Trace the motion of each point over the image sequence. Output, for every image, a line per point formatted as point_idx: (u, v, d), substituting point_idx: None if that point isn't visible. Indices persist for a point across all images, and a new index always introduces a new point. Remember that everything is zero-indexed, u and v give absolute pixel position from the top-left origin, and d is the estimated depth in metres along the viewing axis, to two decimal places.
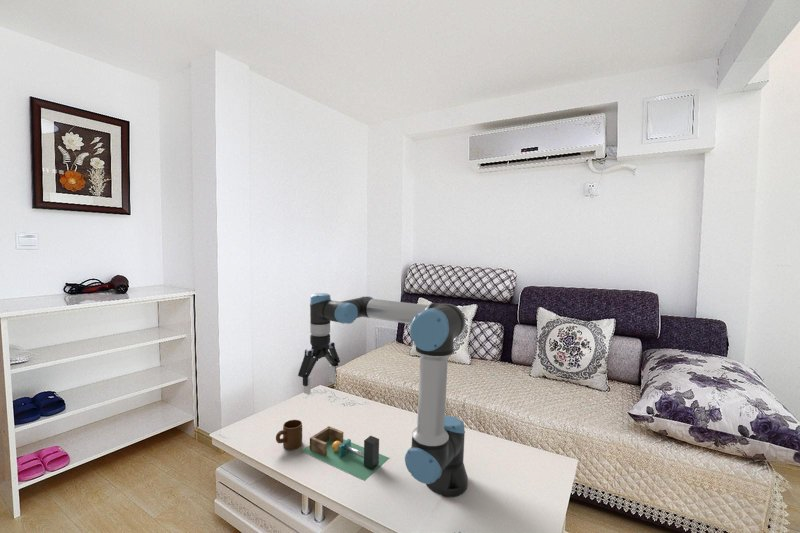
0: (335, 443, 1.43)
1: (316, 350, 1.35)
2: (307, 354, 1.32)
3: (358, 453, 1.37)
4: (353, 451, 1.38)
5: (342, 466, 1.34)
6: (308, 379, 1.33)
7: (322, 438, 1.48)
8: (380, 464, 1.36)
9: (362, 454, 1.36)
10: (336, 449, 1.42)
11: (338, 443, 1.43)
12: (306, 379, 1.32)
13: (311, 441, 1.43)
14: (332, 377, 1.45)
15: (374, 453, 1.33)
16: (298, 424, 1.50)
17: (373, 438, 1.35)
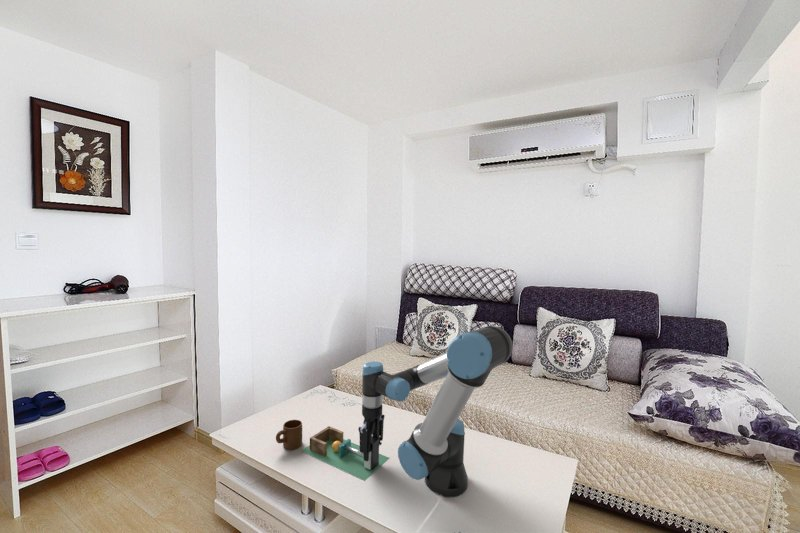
0: (335, 443, 1.43)
1: (369, 423, 1.30)
2: (362, 432, 1.28)
3: (358, 453, 1.37)
4: (353, 451, 1.38)
5: (342, 466, 1.34)
6: (369, 454, 1.31)
7: (322, 438, 1.48)
8: (380, 464, 1.36)
9: (362, 454, 1.36)
10: (336, 449, 1.42)
11: (338, 443, 1.43)
12: (367, 454, 1.31)
13: (311, 441, 1.43)
14: None
15: (374, 453, 1.33)
16: (298, 424, 1.50)
17: (373, 438, 1.35)
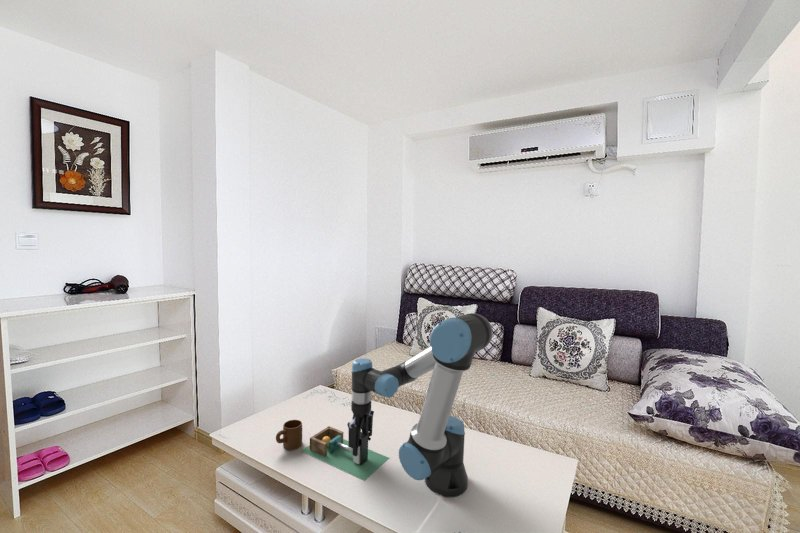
0: None
1: (358, 418, 1.33)
2: (351, 428, 1.31)
3: (348, 449, 1.39)
4: (343, 447, 1.41)
5: (342, 466, 1.34)
6: (358, 449, 1.34)
7: None
8: (380, 464, 1.36)
9: (351, 450, 1.39)
10: None
11: None
12: (356, 449, 1.34)
13: (311, 441, 1.43)
14: None
15: (363, 448, 1.35)
16: (298, 424, 1.50)
17: (362, 434, 1.37)
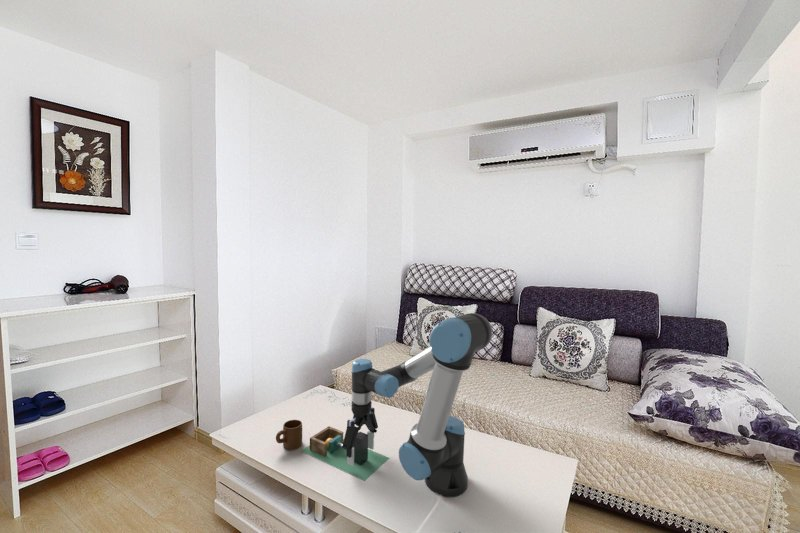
0: None
1: (358, 419, 1.33)
2: (350, 425, 1.30)
3: None
4: None
5: (342, 466, 1.34)
6: (352, 450, 1.31)
7: (322, 438, 1.48)
8: (380, 464, 1.36)
9: None
10: (327, 442, 1.44)
11: None
12: (350, 450, 1.30)
13: (311, 441, 1.43)
14: (370, 444, 1.42)
15: (363, 448, 1.35)
16: (298, 424, 1.50)
17: (362, 434, 1.37)
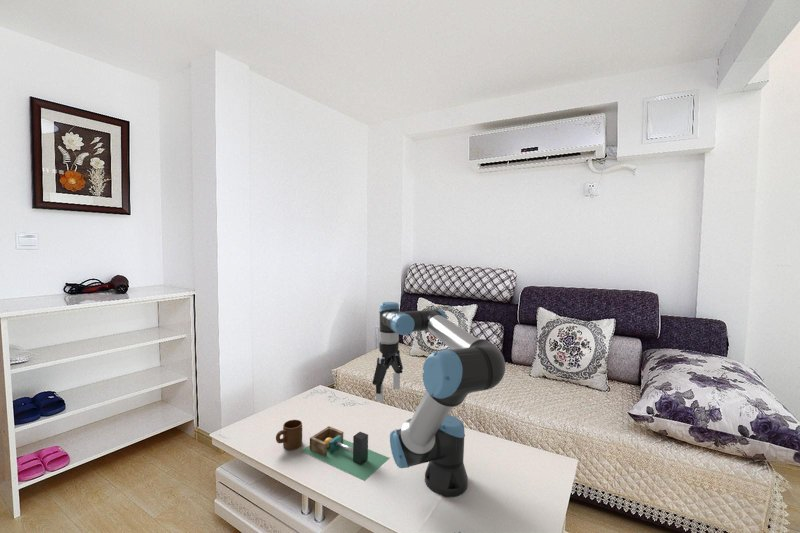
0: None
1: (387, 358, 1.38)
2: (380, 362, 1.35)
3: (348, 449, 1.39)
4: (343, 447, 1.41)
5: (342, 466, 1.34)
6: (381, 387, 1.35)
7: (322, 438, 1.48)
8: (380, 464, 1.36)
9: (351, 450, 1.39)
10: (325, 441, 1.45)
11: None
12: (379, 387, 1.34)
13: (311, 441, 1.43)
14: (397, 384, 1.47)
15: (363, 448, 1.35)
16: (298, 424, 1.50)
17: (362, 434, 1.37)
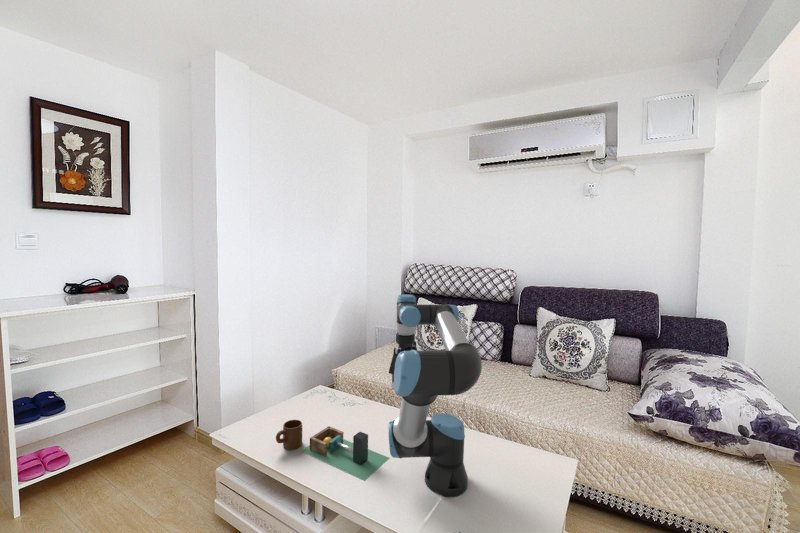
0: None
1: (403, 348, 1.42)
2: (396, 352, 1.39)
3: (348, 449, 1.39)
4: (343, 447, 1.41)
5: (342, 466, 1.34)
6: None
7: (322, 438, 1.48)
8: (380, 464, 1.36)
9: (351, 450, 1.39)
10: (323, 441, 1.45)
11: None
12: None
13: (311, 441, 1.43)
14: None
15: (363, 448, 1.35)
16: (298, 424, 1.50)
17: (362, 434, 1.37)
